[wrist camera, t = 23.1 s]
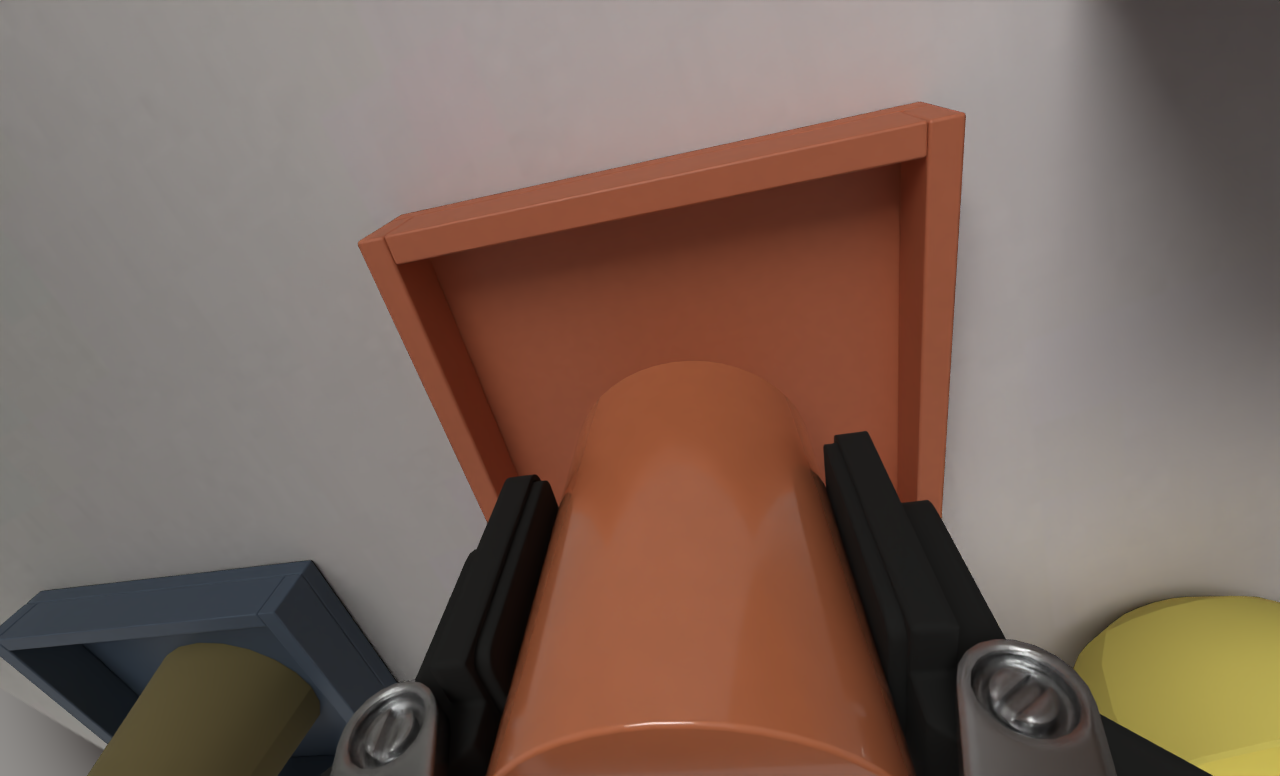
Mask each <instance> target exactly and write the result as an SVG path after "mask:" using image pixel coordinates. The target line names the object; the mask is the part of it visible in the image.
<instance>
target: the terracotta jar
mask: <svg viewBox="0 0 1280 776" xmlns="http://www.w3.org/2000/svg"><path fill="white" fill-rule="evenodd" d="M486 776H917V774H916V771H915V767H914V764H913V761H912V758H911V755H910V752H909V748H908V745H907V742H906V739H905V736H904V733H903V729H902V726H901V723H900V720H899V717H898V714H897V710H896V707H895V704H894V701H893V698H892V695H891V692H890V689H889V686H888V683H887V679H886V676H885V673H884V670H883V667H882V664H881V660H880V657H879V654H878V651H877V648H876V645H875V641H874V638H873V635H872V632H871V629H870V626H869V622H868V619H867V616H866V613H865V610H864V607H863V603H862V600H861V597H860V594H859V591H858V588H857V584H856V581H855V578H854V575H853V572H852V569H851V565H850V562H849V559H848V556H847V553H846V550H845V546H844V543H843V540H842V537H841V534H840V531H839V527H838V524H837V521H836V518H835V515H834V512H833V508H832V505H831V502H830V499H829V496H828V493H827V489H826V486H825V483H824V480H823V477H822V473H821V470H820V467H819V464H818V461H817V458H816V454H815V451H814V448H813V445H812V442H811V439H810V436H809V433H808V430H807V427H806V424H805V422H804V420H803V418H802V417H801V415H800V413H799V411H798V410H797V409H796V407H795V406H794V405H793V403H792V402H791V401H790V400H789V399H788V398H787V397H786V396H785V395H784V394H783V393H782V392H781V391H780V390H779V389H777V388H776V387H775V386H773V385H772V384H770V383H769V382H768V381H766V380H764V379H762V378H760V377H759V376H757V375H755V374H753V373H751V372H748V371H746V370H743V369H741V368H738V367H734V366H730V365H727V364H723V363H717V362H709V361H678V362H670V363H665V364H660V365H656V366H653V367H650V368H647V369H644V370H641V371H638V372H636V373H634V374H632V375H630V376H628V377H626V378H624V379H623V380H621V381H620V382H618V383H617V384H615V385H614V386H612V387H611V388H610V389H609V390H608V391H607V392H606V393H604V394H603V395H602V396H601V397H600V398H599V399H598V401H597V402H596V403H595V404H594V405H593V407H592V408H591V410H590V411H589V413H588V414H587V416H586V418H585V420H584V422H583V424H582V427H581V429H580V432H579V436H578V439H577V443H576V447H575V450H574V454H573V458H572V461H571V465H570V469H569V472H568V476H567V480H566V483H565V487H564V491H563V494H562V498H561V502H560V505H559V509H558V513H557V516H556V520H555V524H554V527H553V531H552V535H551V538H550V542H549V546H548V549H547V553H546V557H545V560H544V564H543V568H542V571H541V575H540V579H539V582H538V586H537V590H536V593H535V597H534V601H533V604H532V608H531V612H530V615H529V619H528V623H527V626H526V630H525V634H524V637H523V641H522V645H521V648H520V652H519V656H518V659H517V663H516V667H515V670H514V674H513V678H512V681H511V685H510V689H509V692H508V696H507V700H506V703H505V707H504V711H503V714H502V718H501V722H500V725H499V729H498V733H497V736H496V740H495V744H494V747H493V751H492V755H491V758H490V762H489V766H488V769H487V773H486Z"/></svg>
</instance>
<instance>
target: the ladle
mask: <svg viewBox="0 0 1280 776" xmlns="http://www.w3.org/2000/svg"><path fill="white" fill-rule="evenodd" d="M1073 669H1074V670H1075V671H1076V672H1077V673H1078V675H1079V676H1080V677H1081V678H1082V679H1083V681H1084V682H1085V683H1086V684H1087V685H1088V686H1089V689H1090V691H1091V693H1092V695H1093V697H1094V699H1095V701H1096V704H1097V706H1098V710H1099V713H1100V714H1101V715H1103V716H1105V717H1107V718H1109V719H1110V720H1112V721H1114V722H1116V723H1118V724H1120V725H1121V726H1123V727H1125V728H1127V729H1129V730H1131V731H1132V732H1134V733H1136V734H1138V735H1140V736H1142V737H1143V738H1145V739H1147V740H1149V741H1151V742H1153V743H1154V744H1156V745H1158V746H1160V747H1162V748H1164V749H1165V750H1167V751H1169V752H1171V753H1173V754H1175V755H1176V756H1178V757H1180V758H1182V759H1184V760H1186V761H1187V762H1189V763H1191V764H1193V765H1195V766H1197V767H1198V768H1200V769H1202V770H1204V771H1206V772H1208V773H1209V774H1211V775H1213V776H1280V602H1276V601H1272V600H1268V599H1264V598H1260V597H1247V596H1206V597H1180V598H1172V599H1167V600H1163V601H1158V602H1154V603H1151V604H1148V605H1145V606H1142V607H1140V608H1137V609H1135V610H1133V611H1131V612H1129V613H1126V614H1124V615H1123V616H1121V617H1120V618H1118V619H1117V620H1116V621H1114V622H1113V623H1112V624H1111V625H1109V626H1108V627H1107V628H1106V629H1105V630H1104V631H1102V632H1101V633H1100V634H1099V635H1098V636H1097V637H1095V638H1094V639H1093V640H1092V641H1091V642H1090V643H1088V644H1087V646H1086V647H1085V648H1084V649H1083V650H1082V652H1081V653H1080V654H1079V655H1078V658H1077V660H1076V663H1075V665H1074V668H1073Z"/></svg>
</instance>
